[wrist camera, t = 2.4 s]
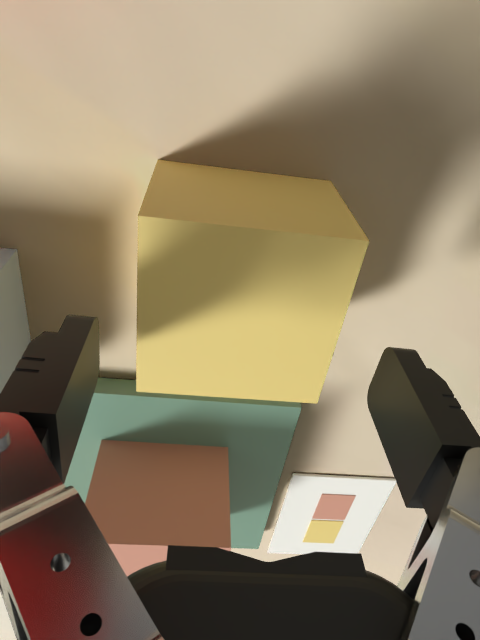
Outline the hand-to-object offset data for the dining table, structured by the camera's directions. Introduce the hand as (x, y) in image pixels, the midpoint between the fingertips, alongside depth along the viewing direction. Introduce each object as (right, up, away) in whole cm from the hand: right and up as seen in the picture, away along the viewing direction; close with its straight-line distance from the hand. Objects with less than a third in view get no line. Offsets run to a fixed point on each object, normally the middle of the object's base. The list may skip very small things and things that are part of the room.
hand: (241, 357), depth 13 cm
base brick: (-4, -7, +11) cm, 14 cm away
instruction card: (+5, -11, +15) cm, 19 cm away
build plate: (-4, -7, +12) cm, 14 cm away
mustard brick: (0, +4, +5) cm, 6 cm away
